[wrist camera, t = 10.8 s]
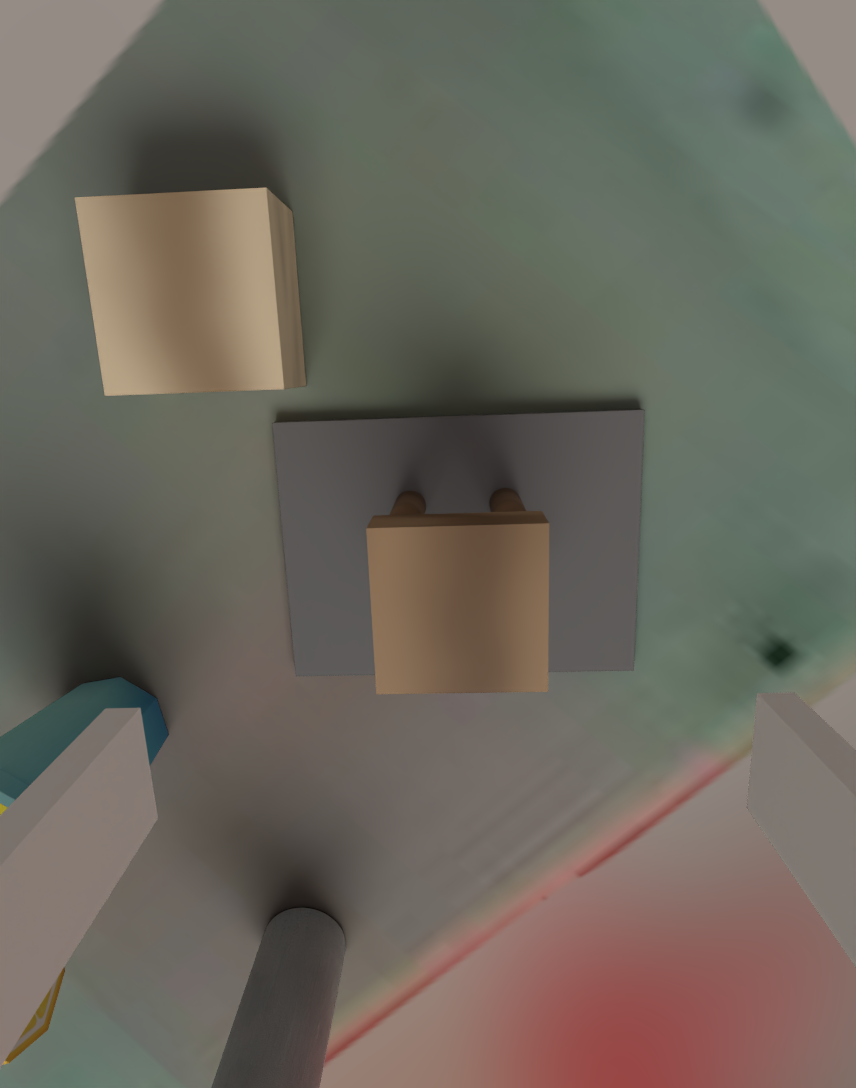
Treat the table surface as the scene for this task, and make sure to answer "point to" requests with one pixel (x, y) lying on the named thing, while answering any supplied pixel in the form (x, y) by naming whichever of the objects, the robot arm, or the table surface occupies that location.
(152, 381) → the oak block
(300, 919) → the grey hollow cylinder
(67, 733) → the cup
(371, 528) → the stool
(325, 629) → the mat
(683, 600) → the table surface
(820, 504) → the table surface
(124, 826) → the robot arm
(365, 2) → the table surface
